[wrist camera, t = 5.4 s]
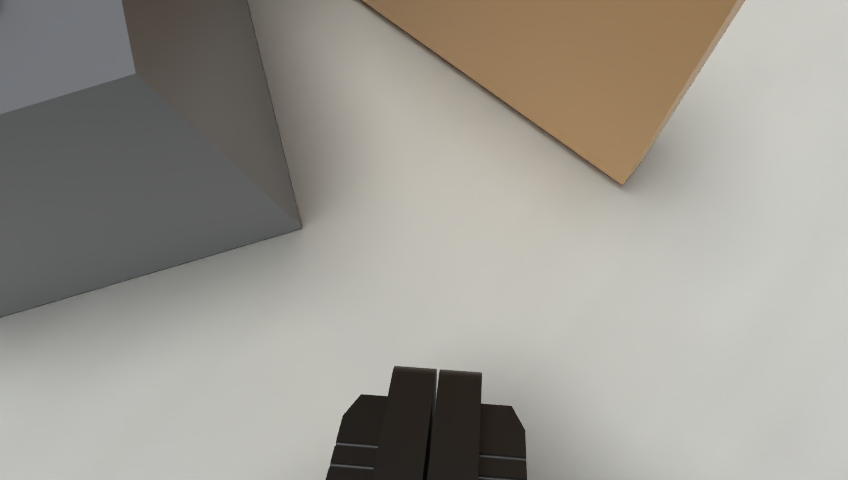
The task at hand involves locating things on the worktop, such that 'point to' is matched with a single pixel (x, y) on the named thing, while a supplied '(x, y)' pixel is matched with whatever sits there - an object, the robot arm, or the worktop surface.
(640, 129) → the side door
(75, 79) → the grey matte box
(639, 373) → the worktop surface
